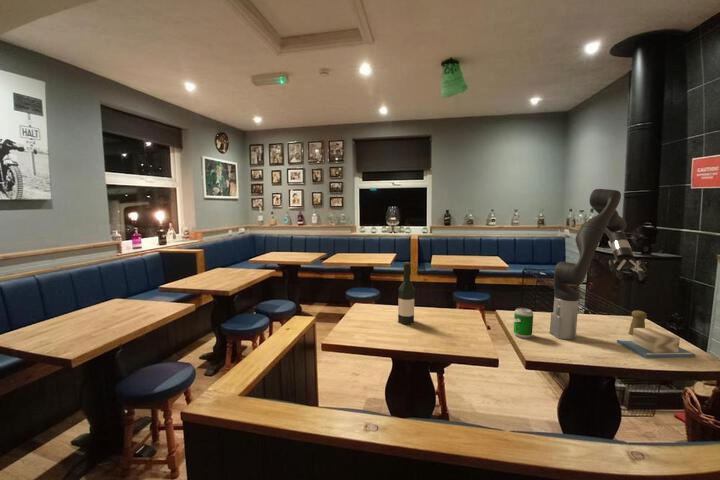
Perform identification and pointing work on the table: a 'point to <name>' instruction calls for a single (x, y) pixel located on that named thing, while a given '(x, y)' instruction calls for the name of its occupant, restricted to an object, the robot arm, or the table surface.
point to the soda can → (523, 322)
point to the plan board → (648, 354)
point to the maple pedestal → (656, 340)
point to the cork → (637, 320)
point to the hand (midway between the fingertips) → (631, 278)
